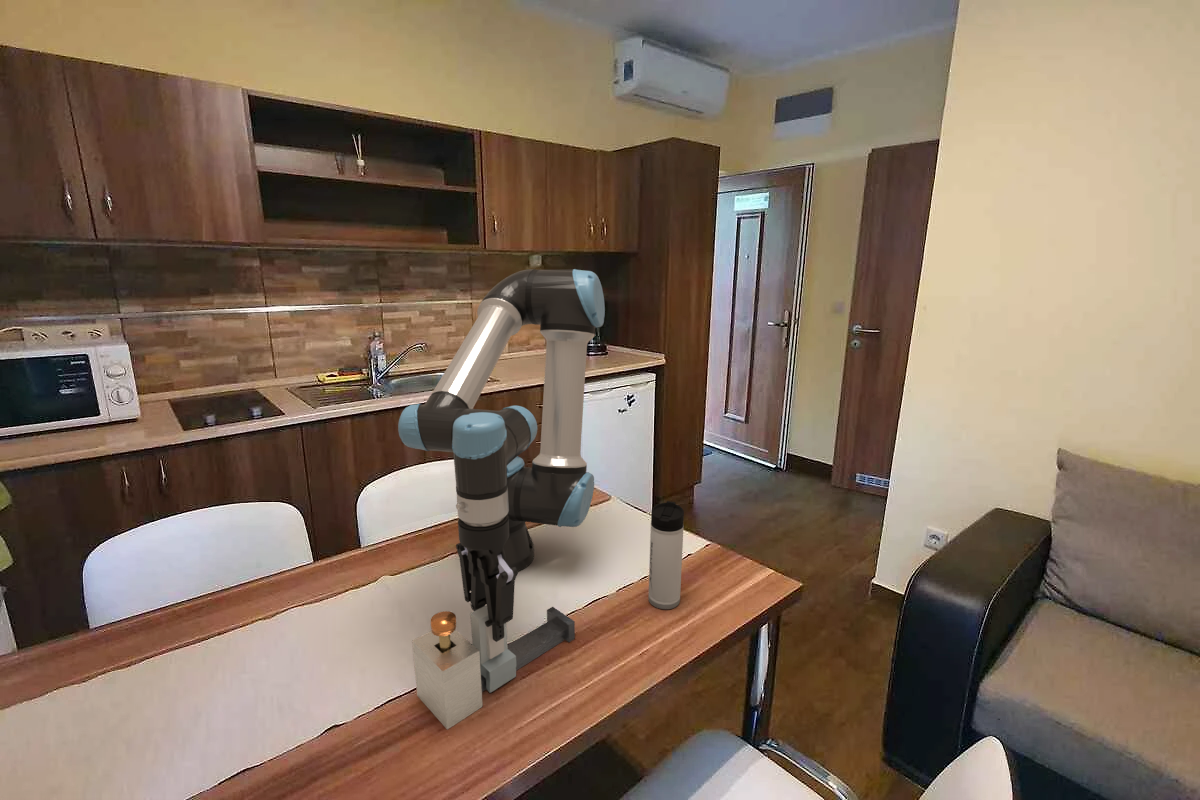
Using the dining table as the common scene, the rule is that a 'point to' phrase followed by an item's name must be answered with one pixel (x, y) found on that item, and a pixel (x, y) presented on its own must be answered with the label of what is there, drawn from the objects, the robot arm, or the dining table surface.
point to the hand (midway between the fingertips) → (490, 649)
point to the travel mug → (666, 555)
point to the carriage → (500, 665)
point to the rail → (474, 666)
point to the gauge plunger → (443, 628)
